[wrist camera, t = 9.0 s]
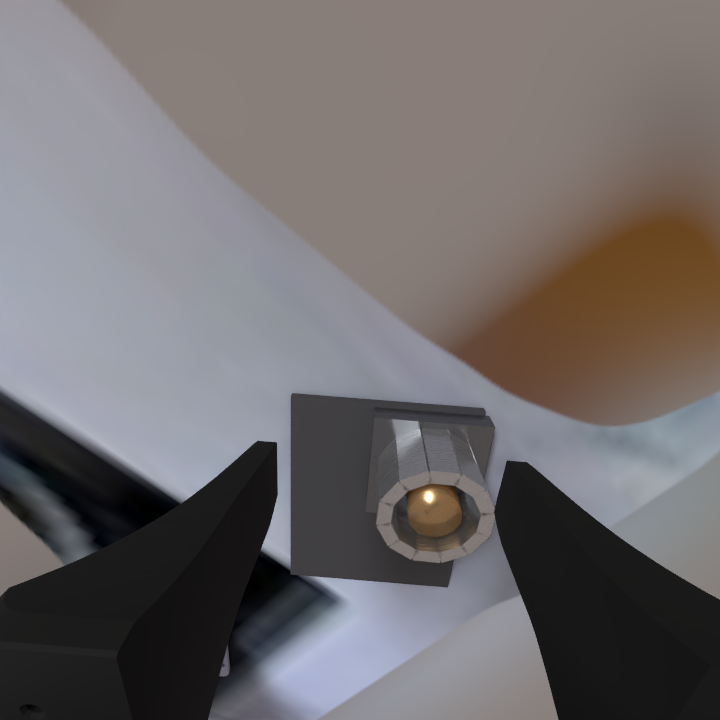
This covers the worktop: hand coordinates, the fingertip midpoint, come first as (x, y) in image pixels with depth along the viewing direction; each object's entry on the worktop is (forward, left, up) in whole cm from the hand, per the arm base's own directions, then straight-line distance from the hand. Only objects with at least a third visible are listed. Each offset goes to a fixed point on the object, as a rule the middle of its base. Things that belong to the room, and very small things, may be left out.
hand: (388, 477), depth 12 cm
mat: (-10, -1, -10) cm, 14 cm away
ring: (-6, -3, -8) cm, 11 cm away
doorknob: (-6, -3, -10) cm, 12 cm away
